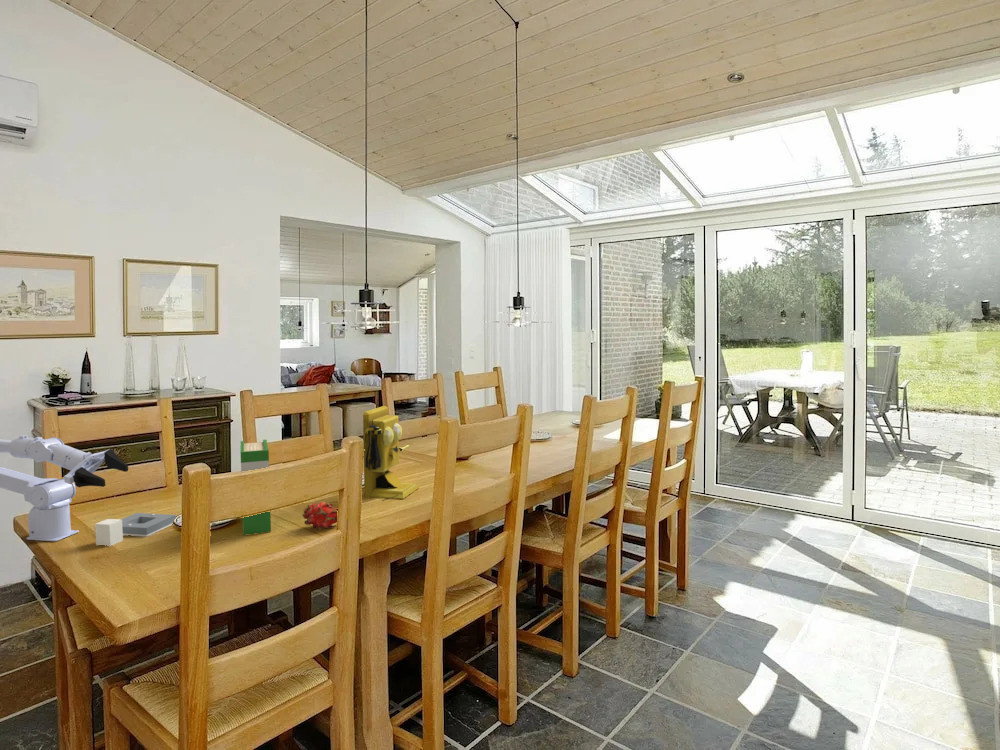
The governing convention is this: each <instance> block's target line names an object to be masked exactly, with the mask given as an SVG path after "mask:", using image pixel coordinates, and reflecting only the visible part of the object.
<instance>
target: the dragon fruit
mask: <svg viewBox="0 0 1000 750" xmlns="http://www.w3.org/2000/svg"><path fill="white" fill-rule="evenodd" d="M337 511H338V507H335V506H334V505H333V503H330V502H329V501H327V502H326V503H325V502H324V501H323V500H321V501H318V502H312V503H311V504H309V505H307V508H305V509H303V514H302V518H303V519H306V520H304V524H305V525H306V526H309V525H310V526H311V525H312V526H313V529H317V530H321V529H322V528H325V529H326V528H328V529H333V528H335V527H337V525H334V524H336V523H338V522H337Z"/></svg>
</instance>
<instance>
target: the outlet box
mask: <svg viewBox="0 0 1000 750" xmlns="http://www.w3.org/2000/svg"><path fill="white" fill-rule="evenodd" d="M174 519H177V517H176V514H167V513H166V514H165V513H164V514H163V513H148V512H147V513H145V512H135V513H133V514H130V515H128V516H125V517H123V518H120V520H122V529H123V536H128V535H131V536H132V537H145V538H146V537H149V536H151V535H154V534H156V533H158V532H160V531H162V530H164V529H166V528H168V527H171V526H173V525H174V524H173V522H174ZM172 524H173V525H172Z"/></svg>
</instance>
